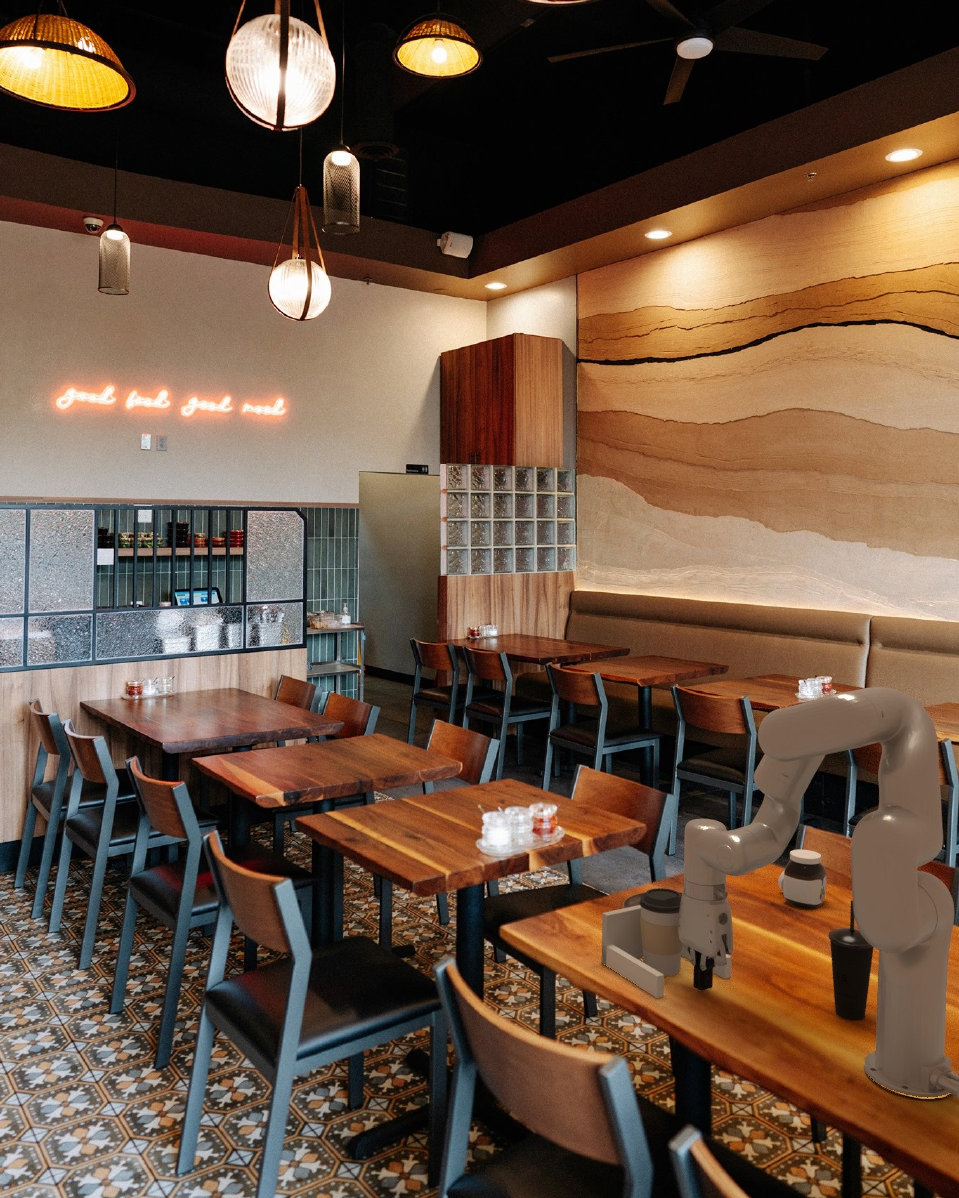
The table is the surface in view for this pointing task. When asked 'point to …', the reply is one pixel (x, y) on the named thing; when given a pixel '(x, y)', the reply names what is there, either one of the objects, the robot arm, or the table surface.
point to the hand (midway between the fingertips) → (702, 987)
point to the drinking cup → (850, 970)
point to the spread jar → (804, 880)
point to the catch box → (636, 951)
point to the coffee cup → (661, 930)
